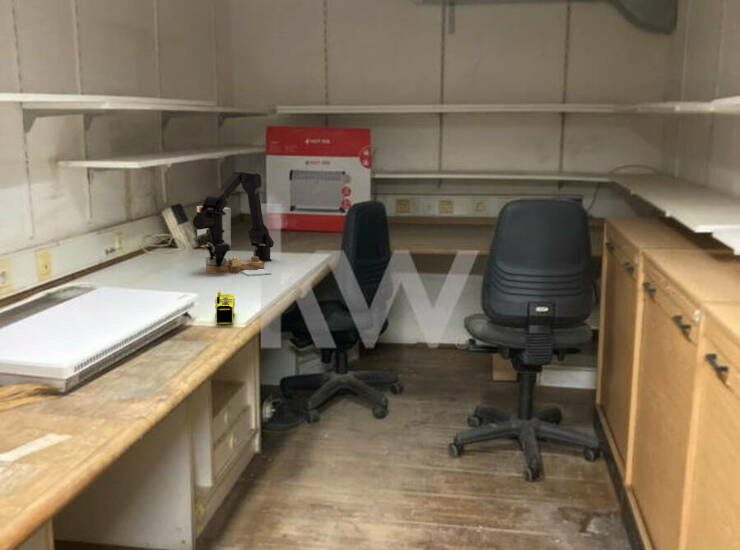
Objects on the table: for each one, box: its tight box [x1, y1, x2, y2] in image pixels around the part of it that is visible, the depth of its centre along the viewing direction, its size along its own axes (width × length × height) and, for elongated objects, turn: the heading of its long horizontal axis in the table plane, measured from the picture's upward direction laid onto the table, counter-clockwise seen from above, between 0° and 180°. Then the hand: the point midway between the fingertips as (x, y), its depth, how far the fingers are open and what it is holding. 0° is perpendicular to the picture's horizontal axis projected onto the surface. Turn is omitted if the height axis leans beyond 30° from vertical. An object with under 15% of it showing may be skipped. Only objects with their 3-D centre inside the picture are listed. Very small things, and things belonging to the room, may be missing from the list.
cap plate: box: [205, 256, 227, 265], centre depth 283 cm, size 7×6×3 cm
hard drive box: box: [196, 205, 232, 249], centre depth 339 cm, size 16×8×20 cm, turn 62°
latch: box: [227, 256, 242, 267], centre depth 282 cm, size 4×5×3 cm
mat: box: [240, 269, 272, 277], centre depth 282 cm, size 10×8×1 cm
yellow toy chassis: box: [214, 288, 236, 325], centre depth 213 cm, size 16×6×8 cm, turn 10°
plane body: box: [205, 256, 265, 274], centre depth 287 cm, size 23×12×5 cm, turn 119°
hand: (215, 265), depth 283 cm, fingers closed on cap plate, 6 cm apart
